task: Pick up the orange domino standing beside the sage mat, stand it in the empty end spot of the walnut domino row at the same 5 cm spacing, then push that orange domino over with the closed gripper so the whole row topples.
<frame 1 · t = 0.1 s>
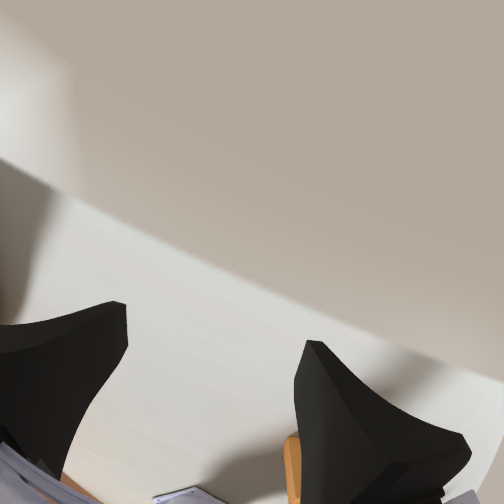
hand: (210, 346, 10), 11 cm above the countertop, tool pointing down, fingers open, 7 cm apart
orange domino: (309, 443, 22), on the countertop
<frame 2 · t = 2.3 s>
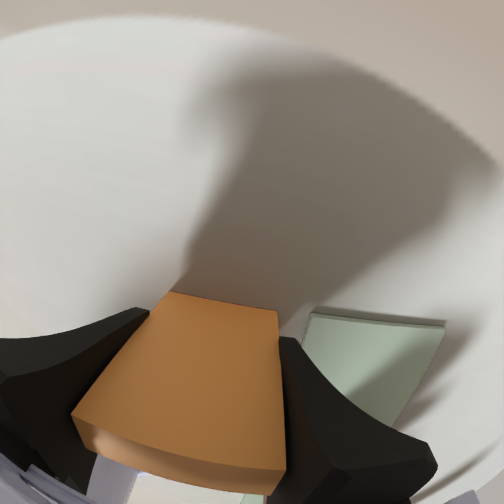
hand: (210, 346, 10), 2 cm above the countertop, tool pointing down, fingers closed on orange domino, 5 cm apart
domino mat: (296, 485, 16), on the countertop
orange domino: (219, 317, 12), on the countertop, touching gripper
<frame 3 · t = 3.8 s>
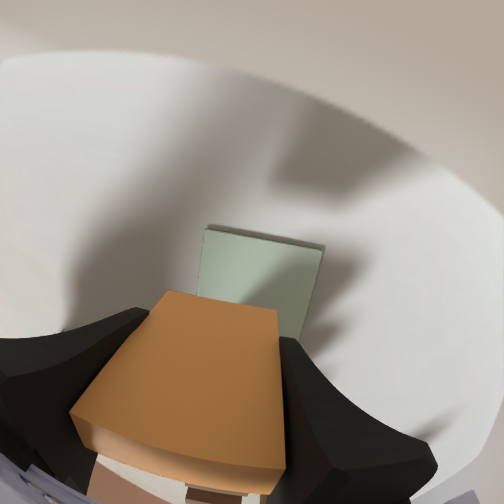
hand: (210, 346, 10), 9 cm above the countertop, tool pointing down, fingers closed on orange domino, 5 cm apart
domino 1: (222, 447, 24), resting on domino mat
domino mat: (229, 413, 23), on the countertop
orange domino: (219, 316, 12), point 7 cm above the countertop, touching gripper
when the fingers open (4 cm above the countertop, at t = 5.5 s): orange domino stays where it is, resting on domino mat.
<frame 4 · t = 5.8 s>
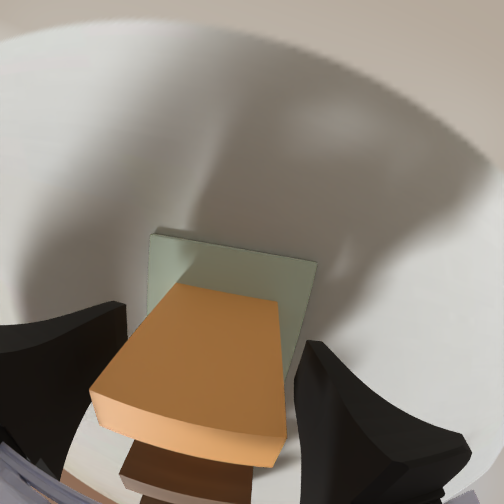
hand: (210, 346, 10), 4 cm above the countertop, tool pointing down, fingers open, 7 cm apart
domino 4: (213, 382, 14), resting on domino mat
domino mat: (205, 452, 17), on the countertop
orange domino: (223, 307, 13), resting on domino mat
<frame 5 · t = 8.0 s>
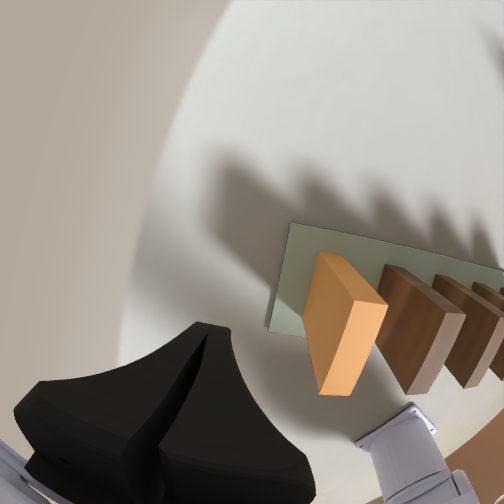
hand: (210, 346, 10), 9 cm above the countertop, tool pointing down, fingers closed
domino 4: (384, 297, 18), resting on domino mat
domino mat: (460, 305, 19), on the countertop
domino 2: (469, 308, 18), resting on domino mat
domino 3: (432, 304, 18), resting on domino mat
orange domino: (321, 287, 18), resting on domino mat
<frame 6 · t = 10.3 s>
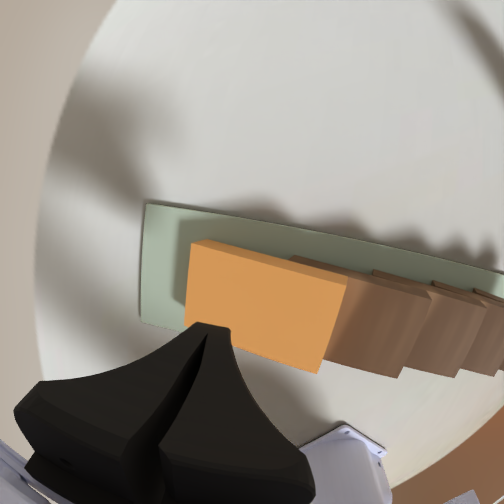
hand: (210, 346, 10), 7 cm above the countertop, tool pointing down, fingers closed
domino 4: (281, 299, 15), point 1 cm above the countertop, tilted 70°, touching domino 3, orange domino
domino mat: (396, 308, 17), on the countertop
domino 2: (421, 317, 15), point 1 cm above the countertop, tilted 63°, touching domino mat
domino 3: (361, 310, 15), point 1 cm above the countertop, tilted 68°, touching domino 4, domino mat
orange domino: (194, 283, 15), point 1 cm above the countertop, tilted 71°, touching domino 4, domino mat
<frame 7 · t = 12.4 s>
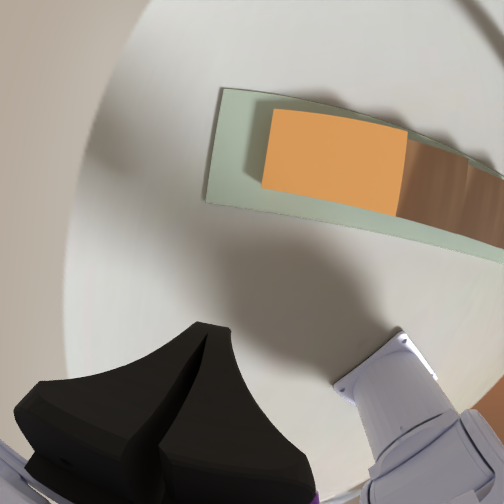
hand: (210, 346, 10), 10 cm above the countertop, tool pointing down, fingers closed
domino 4: (349, 165, 16), point 1 cm above the countertop, tilted 72°, touching domino 3, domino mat, orange domino
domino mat: (437, 193, 17), on the countertop
domino 3: (414, 184, 16), point 1 cm above the countertop, tilted 72°, touching domino 2, domino 4, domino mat
container: (303, 493, 29), on the countertop
orange domino: (271, 149, 16), point 1 cm above the countertop, tilted 72°, touching domino 4, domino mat
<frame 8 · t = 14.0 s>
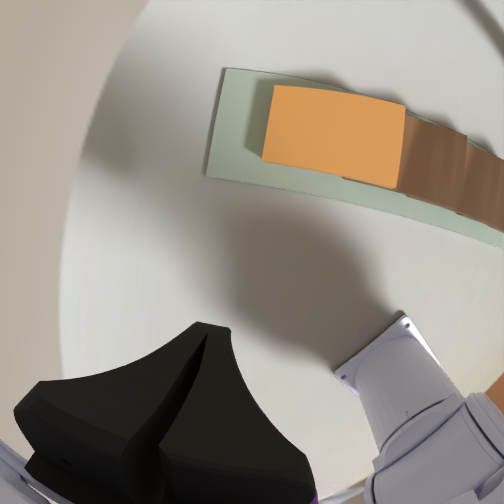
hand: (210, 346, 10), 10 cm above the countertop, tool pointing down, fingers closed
domino 4: (349, 141, 16), point 1 cm above the countertop, tilted 72°, touching domino 3, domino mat, orange domino
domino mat: (437, 174, 17), on the countertop
domino 3: (414, 162, 16), point 1 cm above the countertop, tilted 72°, touching domino 2, domino 4, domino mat
container: (301, 490, 28), on the countertop
orange domino: (272, 124, 16), point 1 cm above the countertop, tilted 72°, touching domino 4, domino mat
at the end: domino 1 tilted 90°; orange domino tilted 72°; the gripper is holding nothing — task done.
